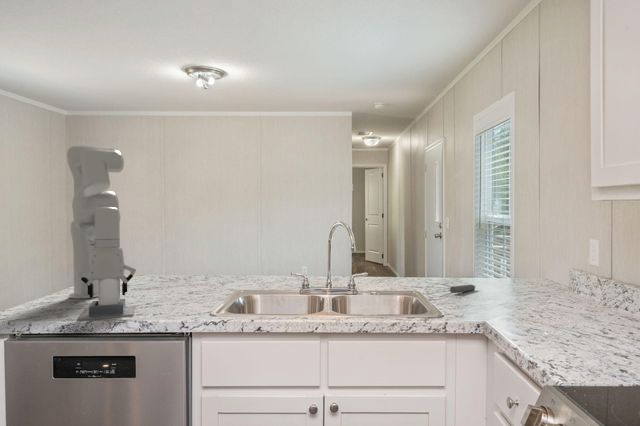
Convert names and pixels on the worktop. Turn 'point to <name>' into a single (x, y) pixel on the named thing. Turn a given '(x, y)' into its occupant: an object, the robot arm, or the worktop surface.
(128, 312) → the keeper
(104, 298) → the can
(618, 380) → the worktop surface
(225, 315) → the worktop surface
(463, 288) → the kitchen whisk
